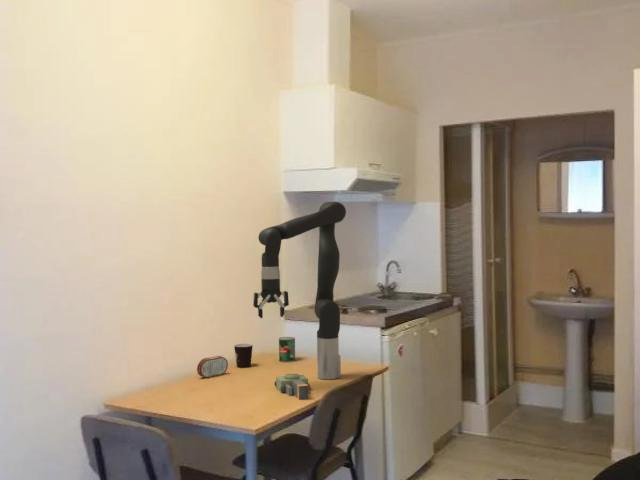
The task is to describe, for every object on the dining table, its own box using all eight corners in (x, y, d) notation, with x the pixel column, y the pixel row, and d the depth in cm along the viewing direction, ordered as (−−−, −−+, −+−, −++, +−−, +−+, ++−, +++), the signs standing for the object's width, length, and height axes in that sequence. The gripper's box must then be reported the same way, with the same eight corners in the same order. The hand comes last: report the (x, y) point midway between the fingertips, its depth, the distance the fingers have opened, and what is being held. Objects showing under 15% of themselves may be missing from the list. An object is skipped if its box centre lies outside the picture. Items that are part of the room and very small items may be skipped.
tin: (225, 372, 302) (224, 354, 301) (229, 373, 299) (228, 355, 299) (196, 378, 291) (196, 359, 291) (201, 379, 289) (200, 360, 289)
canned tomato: (277, 362, 323) (277, 339, 323) (281, 358, 331) (280, 336, 330) (293, 362, 322) (293, 339, 321) (296, 359, 329) (296, 336, 329)
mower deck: (302, 384, 276) (302, 371, 276) (313, 393, 261) (313, 379, 261) (274, 387, 272) (274, 373, 272) (284, 396, 258) (283, 381, 257)
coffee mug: (251, 368, 310) (251, 346, 310) (233, 368, 310) (232, 347, 310) (254, 363, 321) (254, 342, 321) (236, 363, 322) (236, 342, 321)
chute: (301, 392, 263) (300, 379, 263) (308, 398, 253) (308, 385, 253) (291, 393, 262) (291, 380, 262) (298, 399, 252) (298, 386, 252)
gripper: (285, 276, 280) (285, 315, 280) (251, 277, 275) (252, 317, 275) (289, 277, 272) (290, 317, 273) (255, 279, 268) (256, 319, 268)
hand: (271, 317), depth 274 cm, fingers open, 8 cm apart
